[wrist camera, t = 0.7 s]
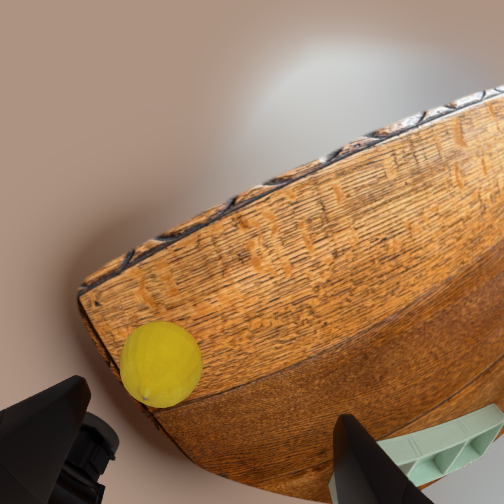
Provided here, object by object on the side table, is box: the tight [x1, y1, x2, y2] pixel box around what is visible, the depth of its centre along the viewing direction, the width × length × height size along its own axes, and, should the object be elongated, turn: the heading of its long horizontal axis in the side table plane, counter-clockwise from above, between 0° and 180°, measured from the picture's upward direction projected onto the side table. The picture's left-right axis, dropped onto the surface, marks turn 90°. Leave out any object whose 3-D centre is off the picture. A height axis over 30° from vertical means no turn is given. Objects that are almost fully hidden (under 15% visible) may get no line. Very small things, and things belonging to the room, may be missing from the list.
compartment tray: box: [328, 403, 504, 504], centre depth 24 cm, size 25×9×4 cm, turn 89°
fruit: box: [120, 321, 203, 408], centre depth 18 cm, size 6×6×8 cm
